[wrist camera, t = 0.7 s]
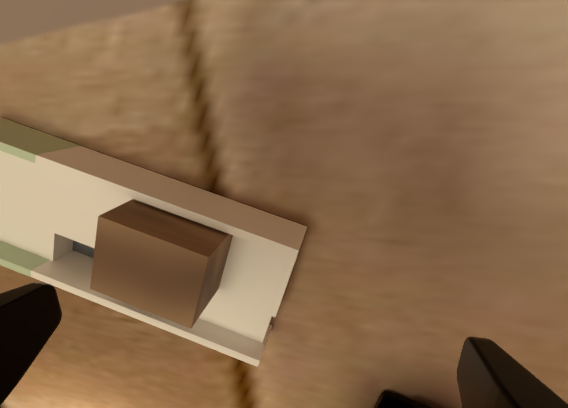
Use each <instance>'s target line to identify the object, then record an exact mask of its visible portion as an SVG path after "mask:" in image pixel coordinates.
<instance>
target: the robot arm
mask: <svg viewBox="0 0 568 408" xmlns="http://www.w3.org/2000/svg"><path fill="white" fill-rule="evenodd" d="M61 317H62V311H61V308H60V304H59V300H58V297H57V293H56V290H55V288H54V287H53V285H51V284H46V283H36V282H35V283H30V284H27V285H24V286H21V287H18V288H16V289H13V290H10V291H7V292H4V293H1V294H0V405H1V404H2V403H3V402H4V400H5V399H6V398H7V397H8V395H9V394H10V393H11V392H12V390H13V389H14V388H15V386H16V385H17V384H18V382H19V381H20V380H21V378H22V377H23V375H24V374H25V373H26V371H27V370H28V368H29V367H30V365H31V364H32V362H33V361H34V360H35V358H36V357H37V355H38V354H39V352H40V351H41V349H42V348H43V347H44V345H45V344H46V342H47V341H48V339H49V338H50V336H51V335H52V334H53V332H54V331H55V329H56V328H57V326H58V325H59V323H60V321H61ZM457 381H458V386H459V392H460V397H461V402H462V407H463V408H568V404H567V403H566V402H565V401H564V400H562V399H561V398H560V397H559V396H558V395H557V394H555V393H554V392H553V391H552V390H551V389H549V388H548V387H547V386H546V385H545V384H543V383H542V382H541V381H540V380H539V379H537V378H536V377H535V376H534V375H533V374H531V373H530V372H529V371H528V370H527V369H525V368H524V367H523V366H522V365H521V364H520V363H518V362H517V361H516V360H515V359H514V358H512V357H511V356H510V355H509V354H508V353H506V352H505V351H504V350H503V349H502V348H500V347H499V346H498V345H497V344H496V343H494V342H493V341H492V340H490V339H486V338H478V337H468V338H466V340H465V342H464V345H463V349H462V352H461V356H460V360H459V364H458V368H457ZM387 399H391V400H387ZM374 408H431V407H428V406H425V405H423V404H420V403H418V402H415V401H413V400H410V399H408V398H405V397H402V396H400V395H397V394H395V393H392V392H384V393H382V394H381V396H380V398H379V400H378V402H377V404H376V406H375V407H374Z"/></svg>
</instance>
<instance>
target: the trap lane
mask: <svg viewBox="0 0 568 408" xmlns="http://www.w3.org/2000/svg"><path fill="white" fill-rule="evenodd" d="M132 199H135V200H138V201H141V202H143V203H146V204H149V205H151V206H154V207H157V208H160V209H162V210H165V211H168V212H171V213H173V214H176V215H179V216H182V217H184V218H187V219H190V220H192V221H195V222H198V223H201V224H203V225H206V226H209V227H212V228H214V229H217V230H220V231H223V232H225V233H228V234H231V235H233V237H232V241H231V245H230V248H229V252H228V256H227V259H226V263H225V267H224V271H223V274H222V278H221V282H220V285H219V289H218V290H217V292H216V293H215V295H214V296H213V298H212V299H211V301H210V302H209V303H208V305H207V306H206V308H205V309H204V311H203V312H202V314H201V315H200V316H199V318H198V319H197V321H196V322H195V324H194V325H193V327H192V328H191V329H190V328H188V327H185V326H183V325H180V324H178V323H175V322H173V321H170V320H168V319H165V318H162V317H160V316H157V315H155V314H152V313H150V312H147V311H145V310H142V309H140V308H137V307H135V306H132V305H130V304H127V303H124V302H122V301H119V300H117V299H114V298H112V297H109V296H107V295H104V294H102V293H99V292H97V291H94V290H91V289H90V284H91V275H92V266H93V257H94V248H95V240H96V231H97V222H98V216H99V215H101V214H103V213H105V212H107V211H109V210H111V209H114V208H116V207H118V206H120V205H122V204H124V203H126V202H128V201H130V200H132ZM306 229H307V226H304V225H301V224H298V223H296V222H293V221H290V220H287V219H284V218H282V217H279V216H276V215H273V214H270V213H268V212H265V211H262V210H259V209H256V208H254V207H251V206H248V205H245V204H242V203H239V202H237V201H234V200H231V199H228V198H225V197H223V196H220V195H217V194H214V193H211V192H209V191H206V190H203V189H200V188H197V187H195V186H192V185H189V184H186V183H183V182H181V181H178V180H175V179H172V178H169V177H167V176H164V175H161V174H158V173H155V172H153V171H150V170H147V169H144V168H141V167H139V166H136V165H133V164H130V163H127V162H125V161H122V160H119V159H116V158H113V157H111V156H108V155H105V154H102V153H99V152H97V151H94V150H91V149H88V148H85V147H82V146H80V145H77V144H74V143H72V142H69V141H66V140H63V139H60V138H58V137H55V136H52V135H49V134H46V133H44V132H41V131H38V130H35V129H32V128H30V127H27V126H24V125H21V124H18V123H16V122H13V121H10V120H7V119H4V118H0V265H2V266H4V267H7V268H9V269H12V270H14V271H17V272H19V273H22V274H24V275H27V276H29V277H33V278H35V279H38V280H40V281H43V282H45V283H48V284H51V285H53V286H55V287H58V288H60V289H63V290H65V291H68V292H70V293H73V294H76V295H78V296H81V297H83V298H86V299H88V300H91V301H93V302H96V303H98V304H101V305H103V306H106V307H108V308H111V309H113V310H116V311H118V312H121V313H123V314H126V315H128V316H131V317H133V318H136V319H138V320H141V321H143V322H146V323H148V324H151V325H154V326H156V327H159V328H161V329H164V330H166V331H169V332H171V333H174V334H176V335H179V336H181V337H184V338H186V339H189V340H191V341H194V342H196V343H199V344H201V345H204V346H206V347H209V348H211V349H214V350H216V351H219V352H221V353H224V354H226V355H229V356H231V357H234V358H237V359H239V360H242V361H244V362H247V363H249V364H252V365H254V366H257V367H258V365H259V363H260V360H261V357H262V354H263V351H264V348H265V346H266V343H267V340H268V337H269V334H270V332H271V329H272V326H273V325H270V321H271V318H272V317H276V314H277V312H278V309H279V306H280V303H281V300H282V298H283V295H284V292H285V289H286V286H287V283H288V281H289V278H290V275H291V272H292V269H293V266H294V263H295V261H296V258H297V255H298V252H299V249H300V246H301V244H302V241H303V238H304V235H305V232H306Z"/></svg>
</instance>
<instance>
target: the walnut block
mask: <svg viewBox="0 0 568 408" xmlns="http://www.w3.org/2000/svg"><path fill="white" fill-rule="evenodd" d="M232 237H233V235H231V234H228V233H225V232H223V231H220V230H217V229H214V228H212V227H209V226H206V225H203V224H201V223H198V222H195V221H192V220H190V219H187V218H184V217H182V216H179V215H176V214H173V213H171V212H168V211H165V210H162V209H160V208H157V207H154V206H151V205H149V204H146V203H143V202H141V201H138V200H135V199H132V200H130V201H128V202H126V203H124V204H122V205H120V206H118V207H116V208H114V209H111V210H109V211H107V212H105V213H103V214H101V215H99V216H98V222H97V231H96V240H95V248H94V257H93V266H92V275H91V284H90V289H91V290H94V291H97V292H99V293H102V294H104V295H107V296H109V297H112V298H114V299H117V300H119V301H122V302H124V303H127V304H130V305H132V306H135V307H137V308H140V309H142V310H145V311H147V312H150V313H152V314H155V315H157V316H160V317H162V318H165V319H168V320H170V321H173V322H175V323H178V324H180V325H183V326H185V327H188V328H190V329H191V328H192V327H193V325H194V324H195V322H196V321H197V319H198V318H199V316H200V315H201V314H202V312H203V311H204V309H205V308H206V306H207V305H208V303H209V302H210V301H211V299H212V298H213V296H214V295H215V293H216V292H217V290H218V289H219V285H220V282H221V278H222V274H223V271H224V267H225V263H226V259H227V256H228V252H229V248H230V245H231V241H232Z"/></svg>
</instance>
